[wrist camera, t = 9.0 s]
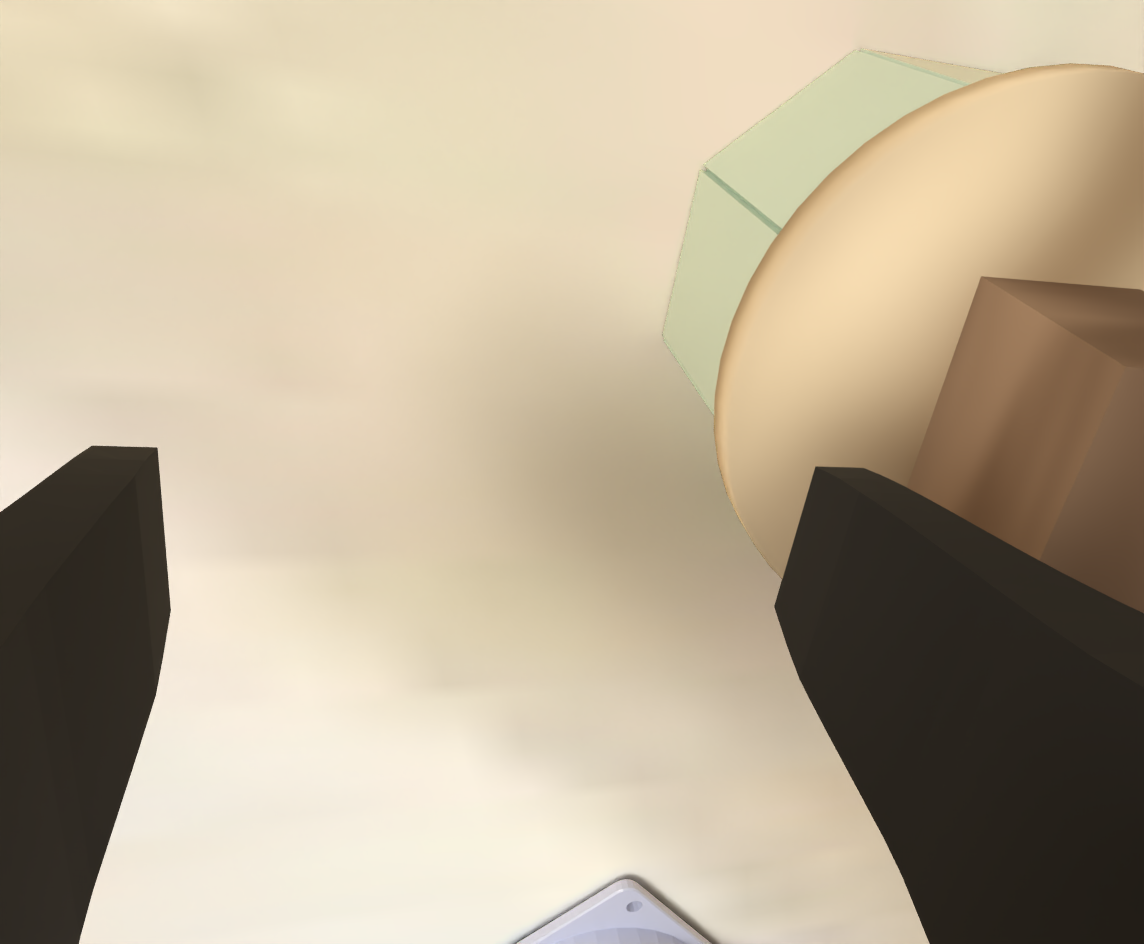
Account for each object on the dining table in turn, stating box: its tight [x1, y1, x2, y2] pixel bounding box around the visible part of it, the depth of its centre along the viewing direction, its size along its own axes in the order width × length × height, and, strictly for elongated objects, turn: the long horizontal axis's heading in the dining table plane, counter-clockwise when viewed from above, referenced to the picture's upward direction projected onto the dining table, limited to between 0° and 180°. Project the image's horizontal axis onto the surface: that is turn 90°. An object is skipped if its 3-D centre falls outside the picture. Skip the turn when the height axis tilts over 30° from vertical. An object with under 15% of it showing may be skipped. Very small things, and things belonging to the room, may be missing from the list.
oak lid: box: [714, 63, 1144, 613], centre depth 16 cm, size 10×10×4 cm
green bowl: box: [662, 48, 1004, 416], centre depth 20 cm, size 9×9×5 cm
